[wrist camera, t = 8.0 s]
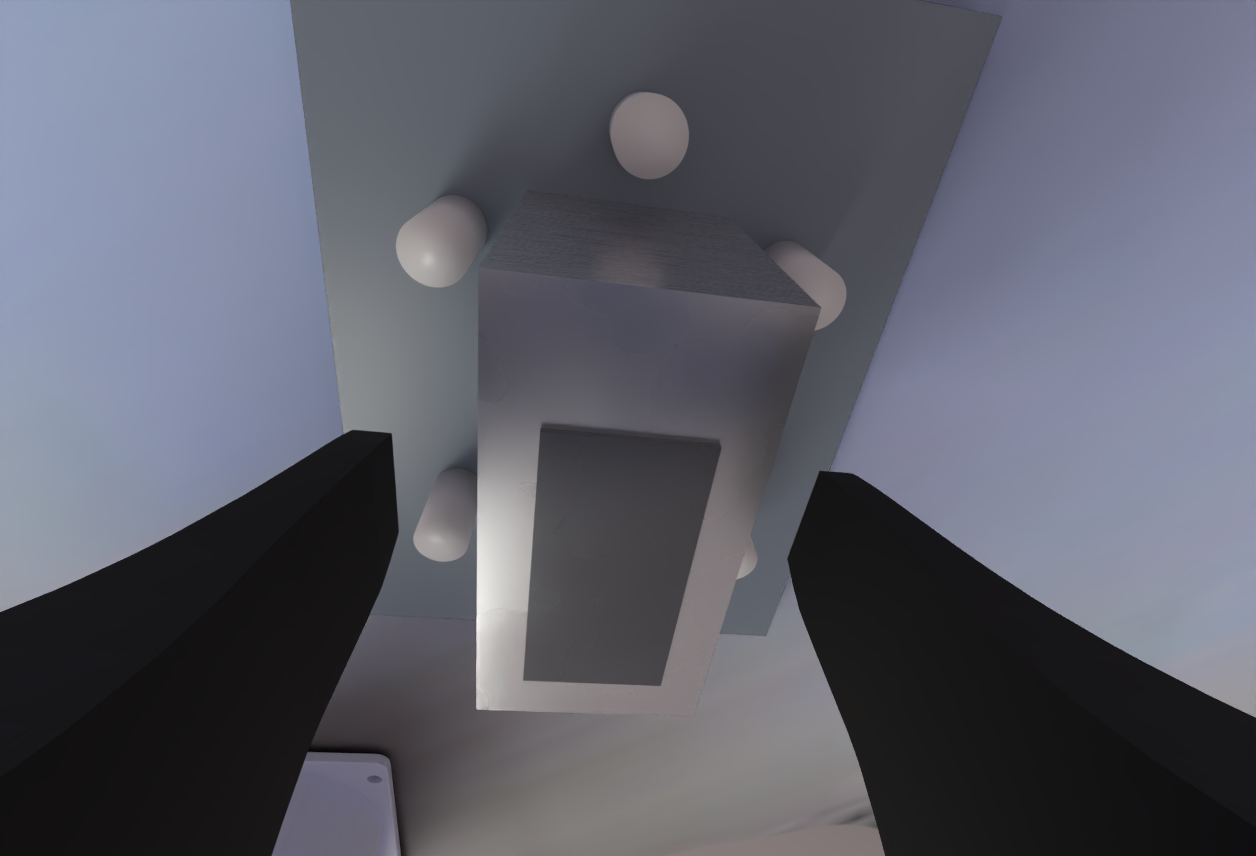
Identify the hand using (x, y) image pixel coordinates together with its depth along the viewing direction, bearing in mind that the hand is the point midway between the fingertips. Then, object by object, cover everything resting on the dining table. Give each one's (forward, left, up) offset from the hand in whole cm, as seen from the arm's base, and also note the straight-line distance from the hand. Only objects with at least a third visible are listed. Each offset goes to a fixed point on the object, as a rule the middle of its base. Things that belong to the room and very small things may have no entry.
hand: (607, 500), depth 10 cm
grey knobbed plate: (0, 0, -5) cm, 5 cm away
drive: (0, 0, -4) cm, 4 cm away
